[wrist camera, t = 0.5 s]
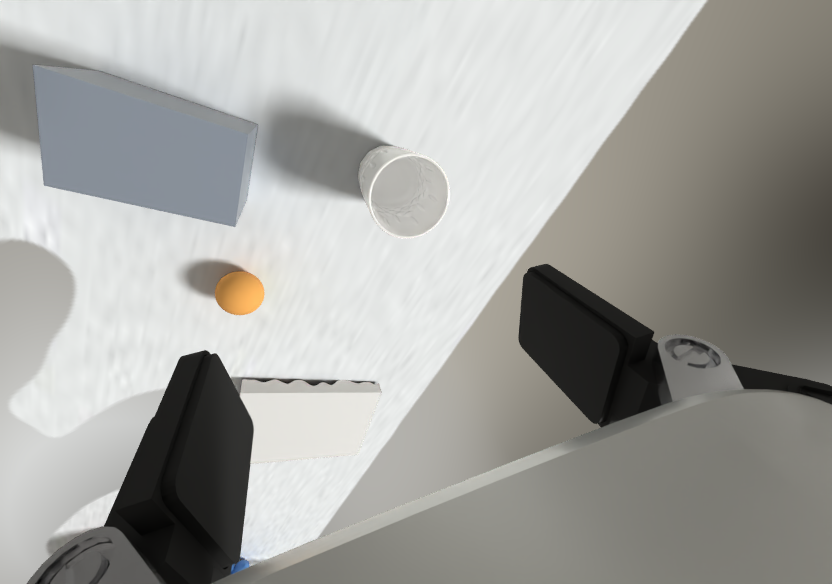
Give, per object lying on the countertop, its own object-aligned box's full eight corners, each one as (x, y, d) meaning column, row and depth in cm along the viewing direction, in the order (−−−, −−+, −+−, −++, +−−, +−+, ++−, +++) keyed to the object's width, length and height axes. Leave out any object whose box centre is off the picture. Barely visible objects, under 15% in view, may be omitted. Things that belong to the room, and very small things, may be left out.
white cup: (370, 220, 42) (389, 252, 33) (340, 157, 37) (353, 177, 29) (427, 192, 42) (459, 216, 34) (404, 127, 38) (434, 137, 29)
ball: (221, 260, 39) (213, 280, 35) (268, 268, 41) (266, 288, 37) (217, 297, 41) (208, 320, 37) (262, 303, 43) (258, 326, 39)
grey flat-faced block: (99, 70, 28) (32, 64, 21) (258, 124, 33) (248, 134, 26) (101, 163, 31) (43, 185, 24) (246, 199, 36) (235, 226, 29)
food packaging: (377, 377, 56) (242, 375, 48) (381, 392, 54) (240, 393, 45) (355, 438, 62) (232, 446, 54) (358, 454, 60) (230, 465, 51)
